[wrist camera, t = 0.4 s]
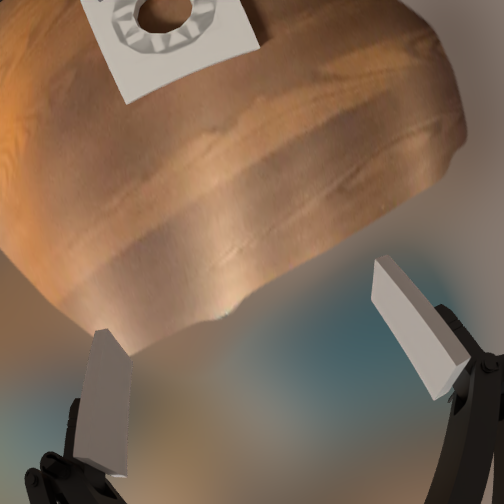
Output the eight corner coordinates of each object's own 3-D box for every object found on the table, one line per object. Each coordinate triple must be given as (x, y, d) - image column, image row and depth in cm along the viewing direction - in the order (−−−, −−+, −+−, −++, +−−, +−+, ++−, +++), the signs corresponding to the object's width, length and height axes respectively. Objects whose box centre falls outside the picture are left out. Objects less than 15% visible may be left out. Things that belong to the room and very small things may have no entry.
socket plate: (83, -6, 19) (74, -12, 17) (204, -59, 18) (205, -69, 16) (131, 103, 29) (125, 104, 27) (256, 50, 28) (261, 47, 26)
